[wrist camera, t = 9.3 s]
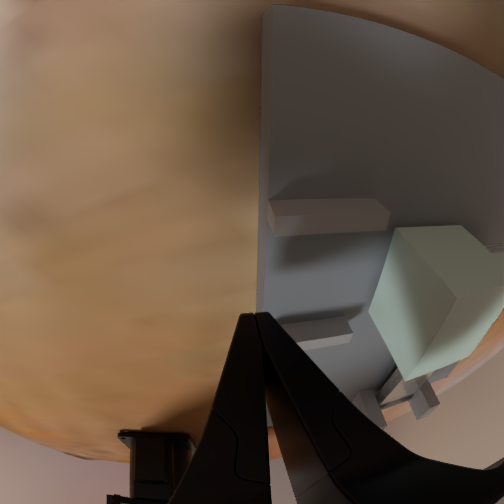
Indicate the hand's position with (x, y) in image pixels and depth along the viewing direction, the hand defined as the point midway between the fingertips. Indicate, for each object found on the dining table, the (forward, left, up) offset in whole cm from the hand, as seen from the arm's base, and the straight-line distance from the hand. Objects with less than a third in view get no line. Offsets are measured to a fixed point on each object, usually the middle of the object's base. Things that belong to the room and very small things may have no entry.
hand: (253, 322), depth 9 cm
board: (-2, -9, -3) cm, 10 cm away
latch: (0, -8, -1) cm, 8 cm away
